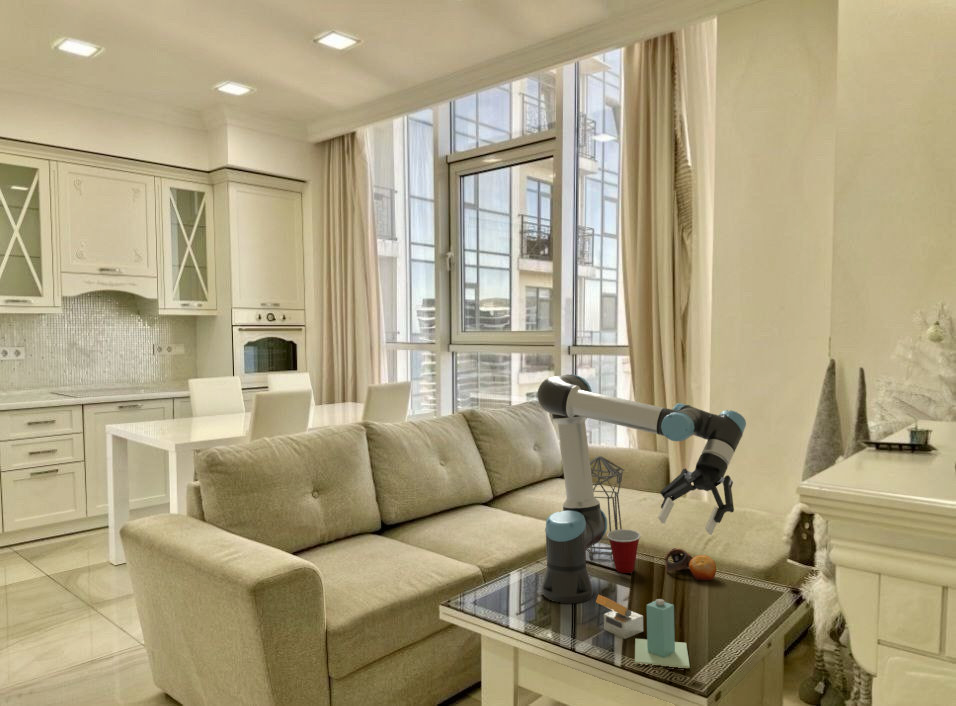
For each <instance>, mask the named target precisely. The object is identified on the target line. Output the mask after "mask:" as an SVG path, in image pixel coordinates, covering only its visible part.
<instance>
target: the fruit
mask: <svg viewBox="0 0 956 706" xmlns="http://www.w3.org/2000/svg"><path fill="white" fill-rule="evenodd" d="M688 569H689V570H690V573H691V575H692V576H693V577H694V578H695V580H697V581H713V580H714V579H715V577H716V574H717V565H716V562H715V560H714V559H713V558H711V557H710V556H708V555H704V554H703V555H702V554H701V555H696V556H694V557H693V558H692V559H691V561H690V563H689V568H688Z"/></svg>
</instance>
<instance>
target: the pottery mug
mask: <svg viewBox="0 0 956 706" xmlns="http://www.w3.org/2000/svg"><path fill="white" fill-rule="evenodd" d="M669 558H671V560H672V561H673V562H670V561H669ZM692 558H694V557H693V556H692V555H691V554H689V552H687V551H686V550H685V549H682V548H676V547H673V548H672V549H671V550H669V551H668V552H667V553H666V554H665V557H664V560H665V563H664V564H665V565H664V568H665V571H666V573H669V572H678V571H681V570H683V569H684V570H685V569H686V570H689V569H690V568H689V563H690V561H691V559H692Z"/></svg>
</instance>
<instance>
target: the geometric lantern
mask: <svg viewBox="0 0 956 706" xmlns="http://www.w3.org/2000/svg"><path fill="white" fill-rule="evenodd" d="M593 464H594V465H593ZM602 464H603V466H604V467H605V470H602ZM592 465H593V467H592V468H591V475H592V478H594V477H595V478H597V482H596V483H592V484H593V492H594V493H595V492H596V493H604V494H605V495H606V496H607V497H606V496H594V497H595V498H596V499H607V511H608V512H607V513H608V524H609V526H608V528H609V532H611V531H612V526H611V524H612V522H611V508H610V499H612V508H613V519H614V521H613V522H614V527H615V528H614V530H622V529H623V527H622V520H621V519H622V518H621V511H620V509H621V508H620V500H619V499H620V498H619V493H620V489H621V483H622V482H623V481H622V479H623V474H624V471H625V469H624V468H622V467H621V466H618V465H617V464H615V463H614V462H612V461H610V460H608V459H607V458H605V457H603V456H602V455H601V456H600V455H599V456H595V457H594V458H593V459H592V460H590V466H592ZM596 465H597V469H595V468H596ZM595 472H597V474H596V473H595ZM604 473H605V474H606V473H607V474H608V475H603V474H604ZM614 477H616V482H615V483H614V487H612V485H611V483H610V482H609V480H611V479H613V478H614ZM600 480H602V481H600ZM605 482H607V483H608V484H609V486H610V488H611V489H612V490H611V491H610V490H607V491H606V489H605V488H604V486H603V485H602V484H603V483H605ZM617 484H618V489H617V491H615V490H616V489H615V488H616V485H617ZM597 486H600V487H601V488H602V490H596V488H597ZM608 493H611V495H609V494H608ZM613 494H614V496H613ZM618 520H619V521H618ZM618 522H619V529H618ZM601 540H603V541H604V540H605V541H606V540H607V541H609V538H608V537H602V539H601ZM596 549H597V550H608V551H609V552H608V551H600V552H601V553H597V552H599V551H596ZM586 552H588V553H589V558H592V559H594V555H595V554H596V555H609V556H610V560H613V561H614V559H613V554H612V549H611V546H595V545H592V546H591V547H590V548H588V549H587V550H586ZM591 554H592V555H591ZM592 559H591V560H592ZM597 559H598V560H597V561H606V560H609V559H605V558H597Z"/></svg>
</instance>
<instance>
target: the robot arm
mask: <svg viewBox="0 0 956 706" xmlns="http://www.w3.org/2000/svg"><path fill="white" fill-rule="evenodd" d="M537 400H538V404H539V405H540V407H541V408H542V409H543V411H545V412H547V413H549V414H551V417H552V420H553V421H554V422H555V423H557V427H558V437H559V445H560V453H561V460H562V462H561V463H562V469H563V479H564V484H565V485H564V486H565V487H564V488H565V496H566V500H565V501H564V502H563V503H562V510H561V511H560V512H559V511H556V512H553V513H552V514H550V515H549V516H548V517H547V518H546V520H545V529H544V530H545V531H544V532H545V549H546V553H545V554H546V569H545V572H544V576H543V579H542V582H541V586H540V587H541V588H540V589H541V590H540V591H541V592H542V593H541V592H540V593H541V595H542V594H543V595H544V596H546V597H547V598H549V599H551V600H554V601H557V602H556V603H558V602H561V603H560V604H578V603H579V604H580V603H583V602H586V601H589V600H590V599H592V598H593V596H594V594H593V593H594V591H593V590H594V589H593V588H594V587H593V585H592V582H591V581H592V580H591V579H590V576H589V573H588V569H587V551H586V550H588V549H591V548H590V547H591V546H592V547H593V545H594V546H595V545H596V544H598V543H599V542H601V540H603V539H602V538H604V536H605V535H606V532H607V530H608V519H607V516H606V513H605V512H604V511H602V509H601V503H600V500H598V498H595V497H596V496H595V494H594V493H595V492H593V489H594V485H593V484H594V483H593V477H592V475H593V474H592V475H591V471H592V470H591V469H592V468H591V467H592V466H591V465H590V462H591V460H590V451H589V442H588V436H587V435H588V434H587V426H586V425H587V424H586V420H587V419H590V420H591V419H592V420H595V421H600V422H604V423H608V424H613V425H616V426H620V427H626V428H630V429H635V430H637V431H643V432H646V433H651V434H655V435H659V436H663V437H665V438H666V439H668V440H669V441H673V442H682V441H685V440H688V439H689V438H691V437H693V436H695V437H699V438H701V439H704V440H707V441H706V442H705V445H704V447H703V449H702V451H701V454H700V455H699V458H698V459H697V462H696V464H695V469H694V470H693V471H689V470H688V469H687V468H683V469H682V471H681V472H680V473H679V474H678V476H676V477H675V478H674V479H673V480H671V482H669V483H668V484H667V485H666V486H665V487H663V489H661V491H660V495H661V496H662V498H663V499H664V500H662V501H663V502H662V504H661V505H660V508H661V510H660V511H659V512H660V513H659V515H658V517H657V518H658V519H659V521H660V523H661V524H664V525H665V524H666V521H667V519H668V517H669V516H670V513H671V512H672V511H671V510H672V509H673V507H674V505H675V503H674V501H676V500H677V499H679V498H680V497H683V496H685V495H686V494H688V493H689V492H693V491H695V490H699V491H705V492H709V491H711V493H712V495H713V497H714V500H715V502H716V505H717V506H714V507H713V509H712V512H711V514H710V516H709V518H708V520H707V522H706V525H705V527H704V529H705V530H706V533H708V535H711V536H713V533H714V530H715V528H716V526H717V524H718V523H719V524H720V523H721V522H722V520H723V517H724V515H725V514H726V513H728V512H730V513H734V511H735V506H734V499H733V491H732V487H733V484H734V481H733V480H732V478H731V476H730V475H728V474H727V475H725V474H726V472H727V470H728V466H729V465H730V463H731V460H732V459H733V456H734V455H735V452H736V451H737V448H738V445H739V443H740V442H741V439H742V437H743V434H744V431H745V429H746V427H747V422H746V419H745V417H744V415H742V414H741V413H739V412H737V411H735V410H732V409H731V410H727V409H725V410H723V411H721V412H720V413H719V414H714V413H711V412H708V411H705V410H702V409H700V408H697V407H694V406H691V405H690V404H684V403H680V402H679V403H676V404H675V405H674V406H673V408H672V409H671V408H665V407H661V406H657V405H653V404H648V403H644V402H639V401H635V400H630V399H625V398H620V397H617V396H616V397H615V396H610V395H607V394H606V395H605V394H602V393H597V392H592V388H591V386H590V383H589V382H588V381H587V380H586V379H585V378H584V377H582V376H580V375H577V374H569V373H568V374H564V375H563V374H562V375H554V376H550V377H547V378H546V379H544V380H543V381H542V382H541V384H540V385H539V387H538V389H537ZM692 483H693V484H692ZM721 484H722V485H723V493H724V501H725V504H724V502H723V499H722V497H721V496H720V492H719V490H718V487H717V486H720V485H721Z"/></svg>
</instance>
